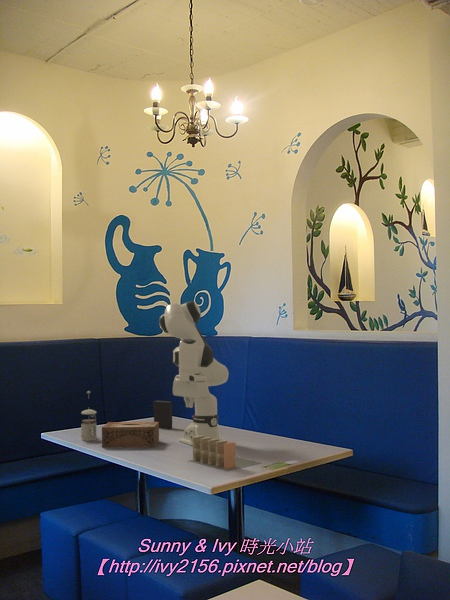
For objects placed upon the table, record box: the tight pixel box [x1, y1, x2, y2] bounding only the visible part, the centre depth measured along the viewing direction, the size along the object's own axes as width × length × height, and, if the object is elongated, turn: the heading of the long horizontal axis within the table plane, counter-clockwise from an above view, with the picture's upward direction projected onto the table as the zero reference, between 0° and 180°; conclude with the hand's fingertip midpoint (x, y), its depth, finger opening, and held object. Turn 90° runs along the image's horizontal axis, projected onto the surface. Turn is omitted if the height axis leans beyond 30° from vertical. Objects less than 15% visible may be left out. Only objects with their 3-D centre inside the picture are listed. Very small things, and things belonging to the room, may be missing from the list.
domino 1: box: [192, 436, 204, 461], centre depth 276 cm, size 2×5×10 cm, turn 132°
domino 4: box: [216, 439, 228, 467], centre depth 264 cm, size 2×5×10 cm, turn 132°
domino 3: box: [208, 439, 219, 465], centre depth 268 cm, size 2×5×10 cm, turn 132°
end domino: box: [224, 441, 237, 469], centre depth 261 cm, size 2×5×10 cm, turn 133°
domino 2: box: [200, 437, 212, 463], centre depth 272 cm, size 2×5×10 cm, turn 132°
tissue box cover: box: [101, 421, 160, 448], centre depth 316 cm, size 26×14×10 cm, turn 88°
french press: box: [79, 390, 99, 442], centre depth 333 cm, size 10×12×25 cm
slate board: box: [188, 456, 262, 472], centre depth 271 cm, size 26×20×1 cm
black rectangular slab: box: [152, 400, 173, 430], centre depth 362 cm, size 11×4×15 cm, turn 58°
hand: (189, 407), depth 280 cm, fingers closed
